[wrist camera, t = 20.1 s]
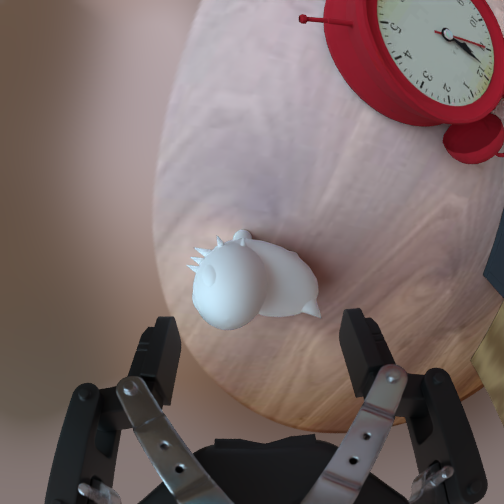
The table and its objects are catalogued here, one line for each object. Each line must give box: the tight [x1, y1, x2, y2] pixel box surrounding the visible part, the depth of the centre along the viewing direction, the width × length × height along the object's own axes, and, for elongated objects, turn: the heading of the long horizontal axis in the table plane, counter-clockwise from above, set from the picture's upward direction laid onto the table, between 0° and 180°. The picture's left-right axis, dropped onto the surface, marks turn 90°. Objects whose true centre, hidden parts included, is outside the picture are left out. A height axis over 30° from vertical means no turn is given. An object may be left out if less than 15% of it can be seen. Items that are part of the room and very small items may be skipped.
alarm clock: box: [299, 0, 504, 164], centre depth 10 cm, size 10×6×15 cm
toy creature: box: [187, 230, 321, 330], centre depth 16 cm, size 5×8×6 cm, turn 64°
